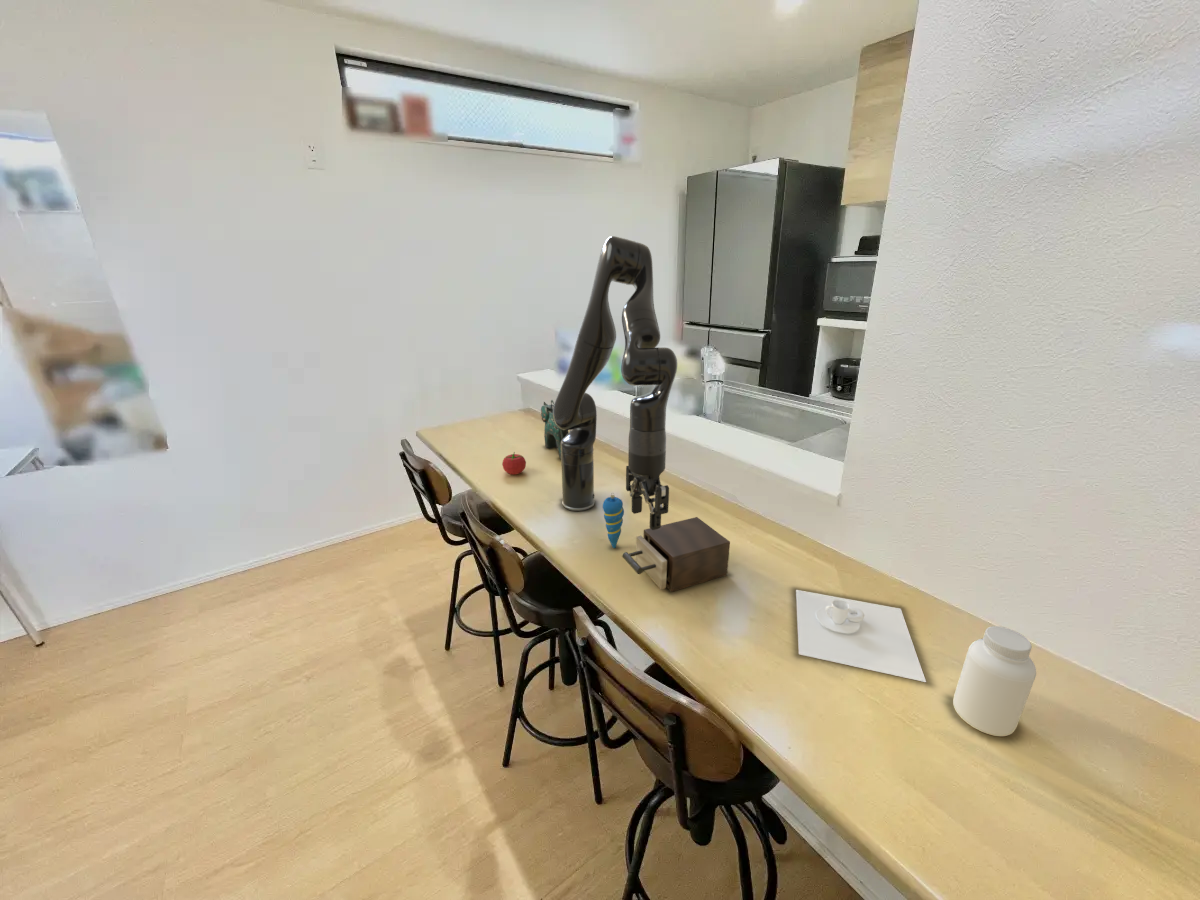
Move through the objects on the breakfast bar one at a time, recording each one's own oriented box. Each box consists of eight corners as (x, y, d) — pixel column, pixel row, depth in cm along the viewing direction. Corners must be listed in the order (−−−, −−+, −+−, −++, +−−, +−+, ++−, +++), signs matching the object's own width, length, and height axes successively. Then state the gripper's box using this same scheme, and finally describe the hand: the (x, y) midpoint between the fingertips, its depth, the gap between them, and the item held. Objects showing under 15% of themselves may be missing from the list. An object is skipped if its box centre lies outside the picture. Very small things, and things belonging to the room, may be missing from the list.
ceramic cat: (541, 445, 194) (538, 396, 187) (556, 443, 196) (554, 394, 189) (558, 462, 177) (556, 408, 170) (575, 459, 179) (573, 406, 172)
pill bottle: (939, 696, 80) (962, 621, 74) (985, 692, 80) (1011, 617, 75) (978, 740, 72) (1007, 660, 67) (1029, 736, 73) (1061, 656, 68)
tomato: (524, 477, 164) (522, 456, 161) (501, 477, 164) (499, 456, 162) (528, 468, 171) (526, 448, 169) (505, 468, 172) (504, 448, 169)
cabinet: (671, 592, 106) (673, 557, 103) (642, 561, 117) (643, 529, 114) (727, 575, 111) (730, 541, 108) (694, 548, 122) (696, 516, 119)
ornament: (621, 554, 120) (622, 498, 115) (601, 552, 121) (600, 497, 116) (625, 543, 125) (625, 489, 119) (605, 541, 126) (604, 488, 120)
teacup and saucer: (861, 613, 99) (865, 596, 97) (867, 640, 92) (871, 622, 90) (814, 604, 101) (817, 588, 100) (816, 630, 94) (819, 612, 93)
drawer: (641, 595, 103) (642, 567, 101) (617, 566, 113) (617, 540, 111) (713, 574, 110) (715, 547, 108) (684, 548, 120) (686, 524, 118)
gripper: (682, 456, 94) (678, 531, 100) (646, 435, 107) (644, 503, 112) (648, 462, 92) (646, 539, 97) (614, 440, 104) (615, 509, 109)
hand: (645, 520), depth 105 cm, fingers open, 7 cm apart
